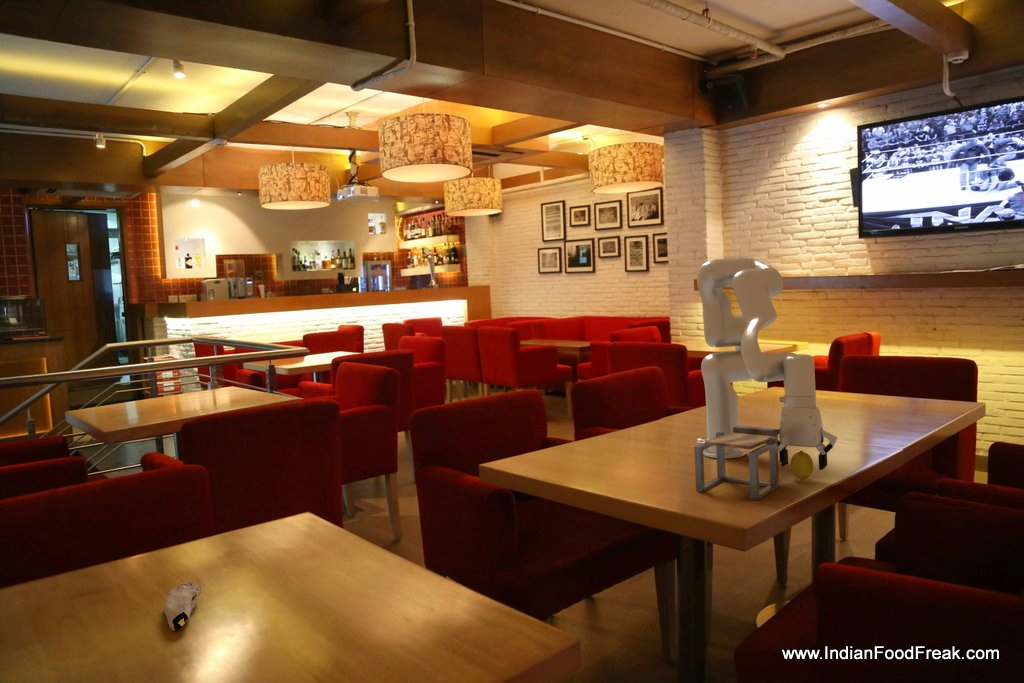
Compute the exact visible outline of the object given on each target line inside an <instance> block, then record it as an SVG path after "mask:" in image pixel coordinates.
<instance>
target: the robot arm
mask: <svg viewBox="0 0 1024 683" xmlns="http://www.w3.org/2000/svg"><path fill="white" fill-rule="evenodd" d="M696 281H697V283H696V284H697V289H698V292H699V295H700V300H701V305H702V319H703V320H702V322H703V323H702V324H703V334H704V341H705V343H706V345H707V346H709V347H711V348H715V349H717V348H730V347H732V348H733V347H734V348H735V349H734V350H731V351H730V350H727V351H717V352H711V353H710V354H707V355H705V357H703V359H702V361H701V364H700V365H701V366H700V369H701V375H702V379H703V382H704V391H705V404H706V405H705V407H706V408H705V410H706V432H707V434H706V436H707V438H706V439H703V438H697V439H696V446H698V445H700V444H702V443H705V441H708V440H711V439H713V438H716V433H718V432H723V433H724V435H725V434H728V433H731V432H733V427H735V426H740V417H739V416H740V413H739V412H740V411H739V408H740V407H739V396H738V394H737V392H736V390H735V388H734V387H733V386H732V384H731V383H736V382H744V381H746V382H747V381H751V380H753V381H755V382H758V383H770V382H777V381H779V382H780V381H783V387H784V389H783V390H784V395H783V396H780V397H779V402H780V403H783V405H784V406H782V407H781V411H780V416H779V417H780V418H779V419H780V420H779V428H776V429H777V435H779V439H778V458H779V463H780V465H781V467H785V466H787V465H788V464H789V450H788V449H787V447H788V446H789V447H801V448H815V449H816V450H817V451H818V452H819V454H818V458H817V460H818V469H819V471H823V470H824V469H826V467H827V466H828V453H829V451H831V450H832V449H833V448H834V447H835V444H836V443H837V440H838V436H836V435H833V434H831V433H830V432H828V431H826V430H824V426H823V419H822V415H821V411H820V407H819V406H817V398H816V375H815V374H816V373H815V372H816V371H815V370H816V369H815V360H814V357H813V356H812V355H810V354H806V353H805V354H802V353H799V354H797V353H794V352H790V351H784V352H771V353H770V352H769V353H762V350H761V348H760V345H759V340H758V336H759V333H760V331H762V330H763V329H765V328H767V327H769V326H770V325H771V324H773V323H774V322H775V321H776V320H777V317H778V314H777V311H776V309H775V306H774V303H773V301H772V299H771V298H773V297H777V296H779V295H780V294H781V293H782V291H783V288H784V278H783V276H782V275H781V273H780V272H779V270H777V269H776V268H775V267H773V266H771V265H769V264H767V263H764V262H762V261H760V260H758V259H755V258H752V257H751V258H750V257H739V258H738V257H735V258H734V257H733V258H716V259H712V260H708V261H705V262H704V263H702V265H701V266H700V268H699V270H698V272H697V278H696ZM723 288H732V290H733V293H734V295H735V298H736V301H737V303H738V306H739V308H740V311H741V314H737V315H736V314H735V315H733V311H732V310H733V309H732V300H731V298H730V297H729V295H728V294H727V291H725V290H724V289H723ZM825 439H827V440H828V444H827V445H825V443H824V442H825ZM745 455H746V449H742V448H732V447H725V460H726V459H736V458H742V457H744V456H745ZM703 456H705V457H707V458H713V459H714V458H715V459H717V449H716V446H711V447H709V448H707V449H704V450H703Z"/></svg>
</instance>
